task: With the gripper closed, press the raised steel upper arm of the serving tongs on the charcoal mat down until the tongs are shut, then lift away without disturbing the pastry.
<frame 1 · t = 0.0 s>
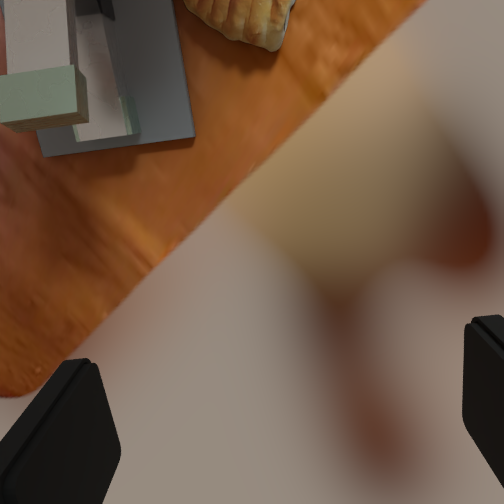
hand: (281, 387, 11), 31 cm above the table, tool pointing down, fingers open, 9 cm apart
pastry: (246, 4, 36), on the table
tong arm: (39, 3, 27), point 10 cm above the table, hinge at 25.0°
slate mat: (90, 6, 36), on the table
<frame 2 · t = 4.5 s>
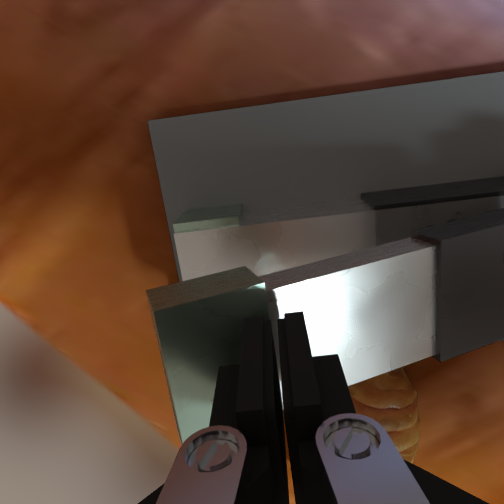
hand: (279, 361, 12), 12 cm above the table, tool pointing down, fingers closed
pastry: (353, 422, 28), on the table
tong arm: (401, 304, 14), point 9 cm above the table, hinge at 22.3°, touching gripper
slate mat: (387, 226, 23), on the table
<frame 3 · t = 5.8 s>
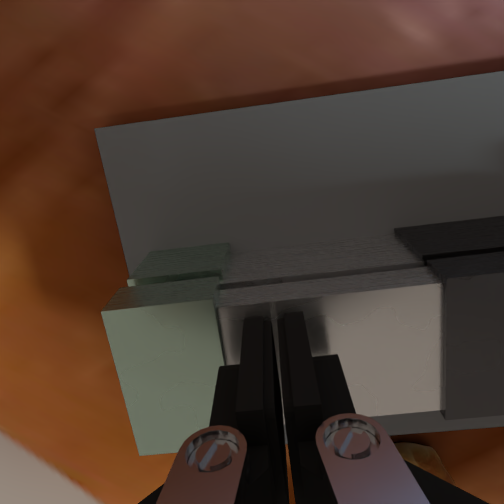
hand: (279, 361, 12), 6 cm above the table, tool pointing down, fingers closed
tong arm: (400, 344, 12), point 5 cm above the table, hinge at 0.6°, touching gripper
slate mat: (427, 270, 17), on the table
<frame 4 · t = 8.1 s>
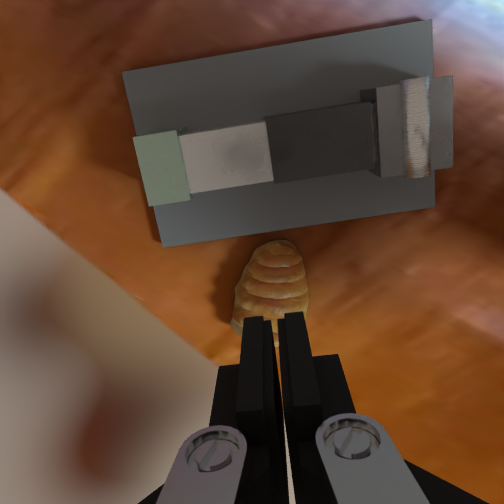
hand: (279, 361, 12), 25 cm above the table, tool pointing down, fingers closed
pastry: (268, 291, 39), on the table
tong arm: (255, 153, 30), point 5 cm above the table, hinge at 0.3°
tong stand: (390, 124, 34), resting on slate mat
slate mat: (285, 141, 35), on the table
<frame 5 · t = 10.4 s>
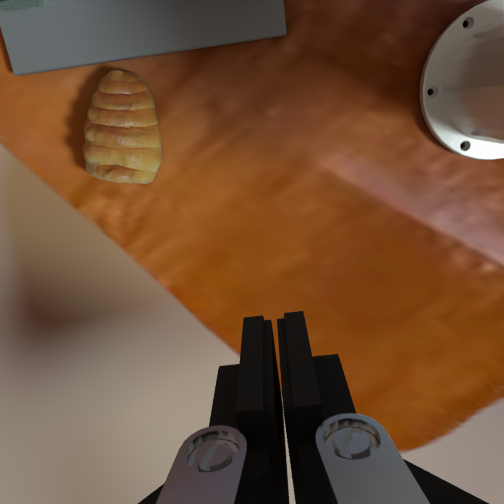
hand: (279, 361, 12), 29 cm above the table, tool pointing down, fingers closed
pastry: (125, 135, 39), on the table
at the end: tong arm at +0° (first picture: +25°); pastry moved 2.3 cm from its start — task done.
